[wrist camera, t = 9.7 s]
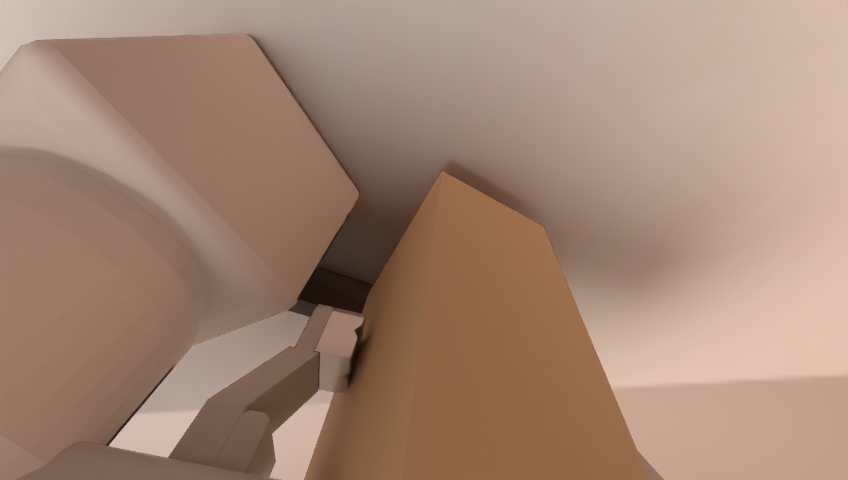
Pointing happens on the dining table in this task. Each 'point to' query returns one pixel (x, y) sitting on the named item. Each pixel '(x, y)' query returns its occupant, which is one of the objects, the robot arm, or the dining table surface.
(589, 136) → the dining table surface
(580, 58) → the dining table surface
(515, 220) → the carton
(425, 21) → the dining table surface
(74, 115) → the medicine bottle
